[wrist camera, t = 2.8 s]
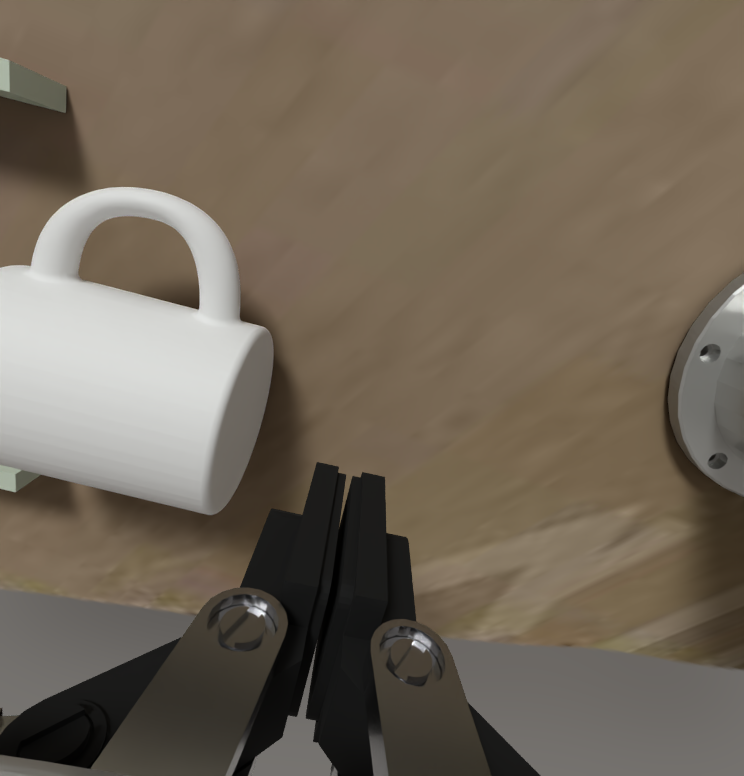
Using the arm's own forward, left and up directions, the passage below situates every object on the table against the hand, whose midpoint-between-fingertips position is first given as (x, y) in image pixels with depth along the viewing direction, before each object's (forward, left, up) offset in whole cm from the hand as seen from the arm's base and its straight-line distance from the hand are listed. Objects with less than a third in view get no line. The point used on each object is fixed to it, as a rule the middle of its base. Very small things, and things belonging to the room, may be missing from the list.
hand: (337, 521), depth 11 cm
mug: (+9, 0, -12) cm, 16 cm away
